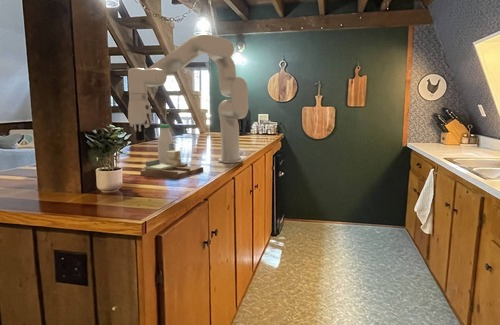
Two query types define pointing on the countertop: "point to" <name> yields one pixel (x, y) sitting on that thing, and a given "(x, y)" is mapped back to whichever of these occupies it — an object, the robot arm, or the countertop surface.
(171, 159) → the block
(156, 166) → the lid
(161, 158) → the milk bottle
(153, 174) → the board
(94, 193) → the countertop surface
